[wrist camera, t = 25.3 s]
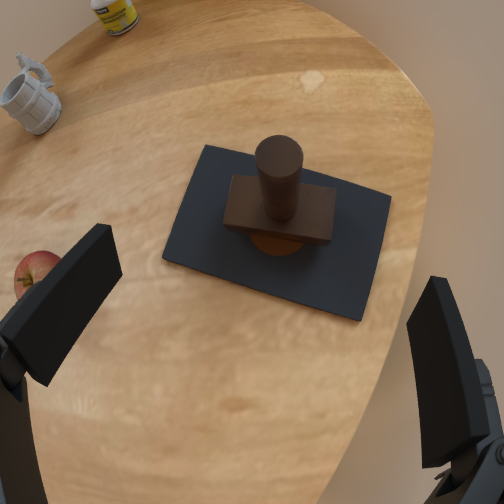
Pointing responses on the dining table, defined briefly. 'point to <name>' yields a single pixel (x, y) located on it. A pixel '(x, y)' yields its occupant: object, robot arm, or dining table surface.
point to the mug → (31, 97)
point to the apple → (33, 270)
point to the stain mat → (277, 250)
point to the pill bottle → (115, 15)
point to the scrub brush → (280, 198)
